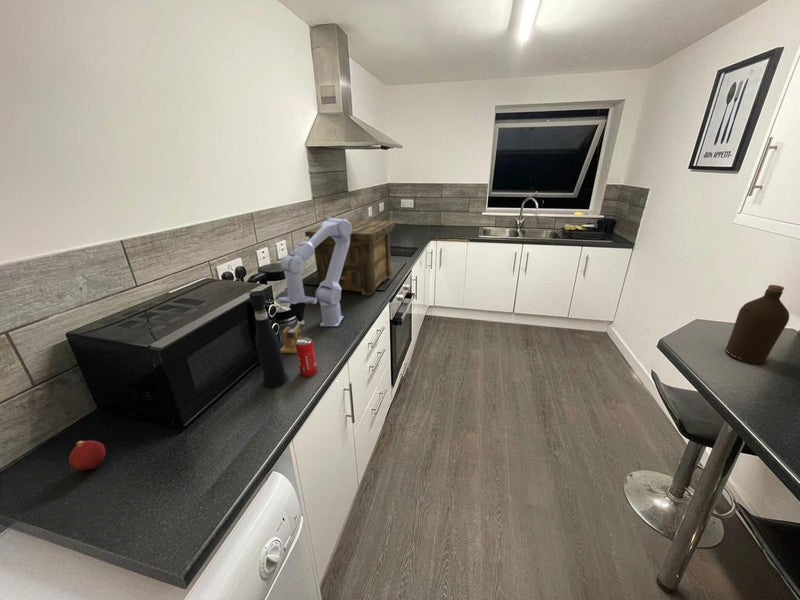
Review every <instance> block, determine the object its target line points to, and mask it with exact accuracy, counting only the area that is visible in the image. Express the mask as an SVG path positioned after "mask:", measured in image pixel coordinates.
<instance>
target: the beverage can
mask: <svg viewBox="0 0 800 600" xmlns="http://www.w3.org/2000/svg"><path fill="white" fill-rule="evenodd" d="M296 350H297V353H296V356H297V362H298V368H299V373H300V374H301V375H302V376H303V377H306V378H308V377H312V376H314V375H315V374H316V373H317V361H316V356H315V348H314V342H313V340H312V338H311V337H309V336H304V337H303V336H302V338H300V339H298V340H297V341H296Z"/></svg>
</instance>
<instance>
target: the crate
mask: <svg viewBox="0 0 800 600" xmlns="http://www.w3.org/2000/svg"><path fill="white" fill-rule="evenodd" d="M347 220H348V221H349V222H350V224H351V227H352V231H351V235H350V244H349V248H348V251H347V255H346V258H345V262H344V265H343V269H342V272H341V276H340V279H339V283H338V284H339V285H340V287H341V289H342V290H341V291H354V292H361V295H362V296H372V295H373V293H375V292H376V291H377V287H379V285H380V284H382V283H385V282H386V281H387V278H390V276H392V252H391V251H392V249H391V232H392V231H393V228H394V227H395V226H396V221H386V220H385V221H384V220H353V219H352V220H351V219H350V220H349V219H347ZM321 227H322V225H321V226H318V227H314V228H312V229H309V230H306V231H304V234H305V237H306V238H307V237H308V238H309V240H310V239H311V238H312V237H313V235H314V234H315V233H316V232H317V231H318V230H319V229H320V228H321ZM335 244H336V243H335V241H334V239H333V238H332V237H331V236H328V237H327V238H326V239H325V240H324V241H323V242H321V243H320V244H319V245H318V246H317V247H315V252H314V258H315V265H316V272H317V280H318V281H317V282H318V287H319V286H320V283H321V282H322V281H324V280H325V279H326V275H327V272H328V269H329V265H330V262H331V258H332V255H333V251H334V248H335ZM330 289H331V288H330Z"/></svg>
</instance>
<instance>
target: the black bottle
mask: <svg viewBox="0 0 800 600" xmlns="http://www.w3.org/2000/svg"><path fill="white" fill-rule="evenodd" d="M248 296H249V301H250V305H251V306H252V307H254V317H255V319H254V321H255V326H256V330H255V337H254V338H255V340H254V341H255V347H256V352H257V356H258V361H259V365H260V369H261V374H262V377H263V381H264V385H265V387H266V388H271V389H272V388H277V387H280V386H282V385H283V384H285V383H286V382H287V375H286V370H285V366H284V360H283V355H282V353H281V350H280V349H281V346H280V340H279V337H278V335H277V333H276V331H275V329H274V328H273V326H272V325H271V321H270V316H269V315H268V311H267V310H266V307H265V305H266V304H267V300H266V295H265V292H264V290H256V291H255V290H254V291H251V292H249V294H248Z"/></svg>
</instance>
